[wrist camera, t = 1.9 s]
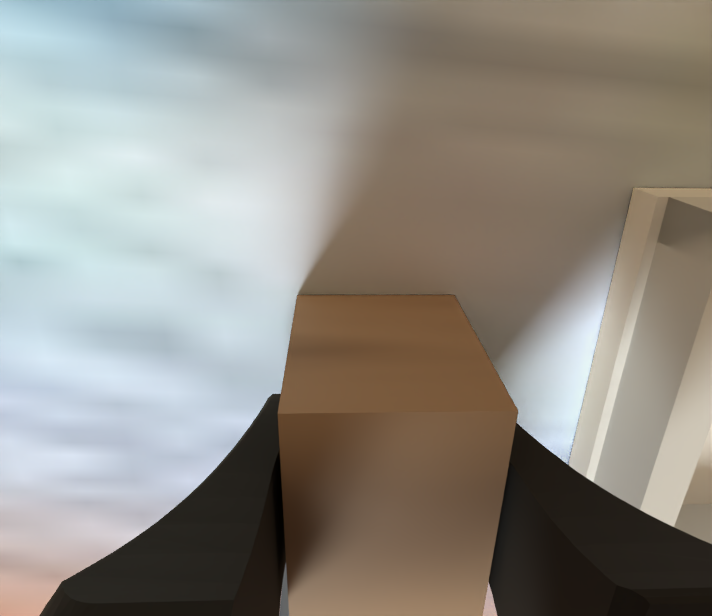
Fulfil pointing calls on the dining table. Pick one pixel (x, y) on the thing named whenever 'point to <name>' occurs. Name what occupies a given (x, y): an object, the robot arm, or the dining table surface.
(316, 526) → the tan cardboard carton
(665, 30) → the dining table surface
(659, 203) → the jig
